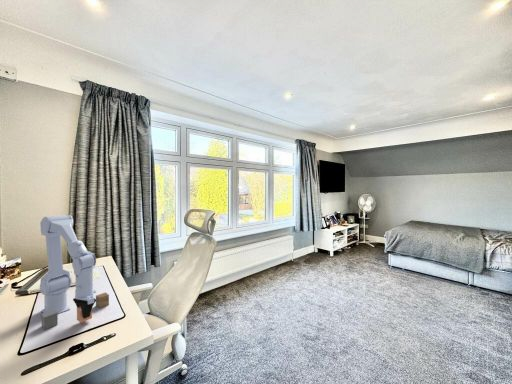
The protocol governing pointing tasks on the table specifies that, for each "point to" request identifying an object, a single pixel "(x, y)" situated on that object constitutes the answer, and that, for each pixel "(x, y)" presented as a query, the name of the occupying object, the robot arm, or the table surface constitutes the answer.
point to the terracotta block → (80, 317)
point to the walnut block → (102, 300)
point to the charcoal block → (49, 319)
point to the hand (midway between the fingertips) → (84, 315)
